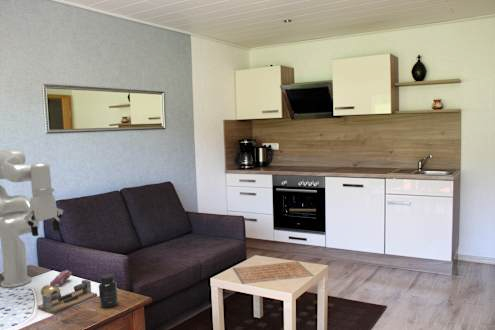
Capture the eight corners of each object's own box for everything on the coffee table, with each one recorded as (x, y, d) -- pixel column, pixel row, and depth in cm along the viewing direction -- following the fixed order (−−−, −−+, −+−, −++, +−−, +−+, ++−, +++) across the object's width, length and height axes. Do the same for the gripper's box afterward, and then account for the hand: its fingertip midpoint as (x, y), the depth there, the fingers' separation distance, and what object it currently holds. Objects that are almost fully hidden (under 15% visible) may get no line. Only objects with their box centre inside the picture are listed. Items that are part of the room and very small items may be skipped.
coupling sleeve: (41, 298, 185) (40, 287, 184) (51, 294, 189) (51, 283, 188) (49, 301, 181) (49, 289, 181) (60, 297, 186) (59, 285, 185)
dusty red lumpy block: (56, 290, 197) (62, 277, 196) (48, 286, 198) (53, 272, 196) (69, 282, 207) (74, 270, 205) (61, 278, 207) (66, 265, 206)
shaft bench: (37, 308, 174) (36, 293, 174) (80, 291, 191) (79, 277, 190) (54, 314, 168) (53, 299, 168) (97, 296, 185) (96, 282, 184)
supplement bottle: (99, 303, 178) (97, 274, 177) (116, 300, 181) (115, 272, 179) (100, 309, 172) (99, 280, 170) (118, 306, 174) (117, 277, 173)
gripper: (55, 189, 193) (58, 228, 194) (17, 195, 178) (21, 237, 179) (65, 190, 189) (69, 229, 190) (27, 196, 174) (32, 238, 175)
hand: (46, 233), depth 185 cm, fingers open, 9 cm apart
